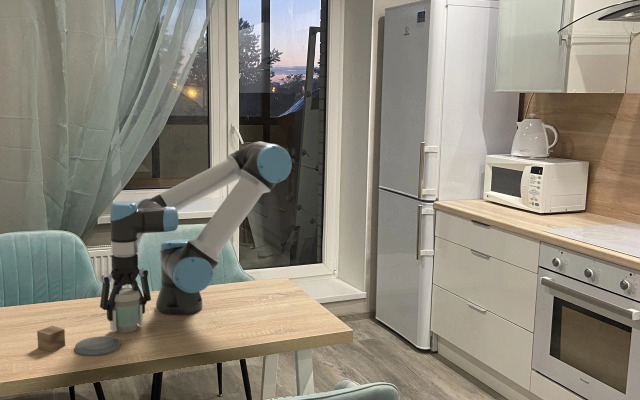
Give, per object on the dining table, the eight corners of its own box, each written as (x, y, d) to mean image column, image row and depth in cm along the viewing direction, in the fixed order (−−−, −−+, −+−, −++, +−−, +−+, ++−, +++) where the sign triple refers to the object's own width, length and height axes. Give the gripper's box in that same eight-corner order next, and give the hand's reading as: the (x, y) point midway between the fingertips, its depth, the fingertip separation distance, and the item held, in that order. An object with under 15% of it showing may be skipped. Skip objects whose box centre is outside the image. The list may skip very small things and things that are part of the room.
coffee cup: (130, 322, 198) (129, 285, 196) (147, 329, 193) (146, 291, 191) (106, 329, 191) (104, 291, 189) (122, 336, 186) (121, 297, 184)
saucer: (110, 335, 187) (109, 332, 186) (127, 348, 178) (127, 345, 177) (68, 345, 179) (68, 341, 179) (84, 359, 170) (84, 355, 170)
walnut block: (53, 342, 181) (52, 325, 180) (65, 346, 179) (64, 329, 178) (38, 348, 177) (37, 331, 176) (50, 352, 174) (49, 334, 174)
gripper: (151, 246, 197) (152, 316, 201) (85, 256, 184) (88, 331, 188) (162, 251, 192) (163, 323, 196) (95, 262, 179) (98, 338, 182)
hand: (126, 327), depth 192 cm, fingers closed on coffee cup, 8 cm apart
